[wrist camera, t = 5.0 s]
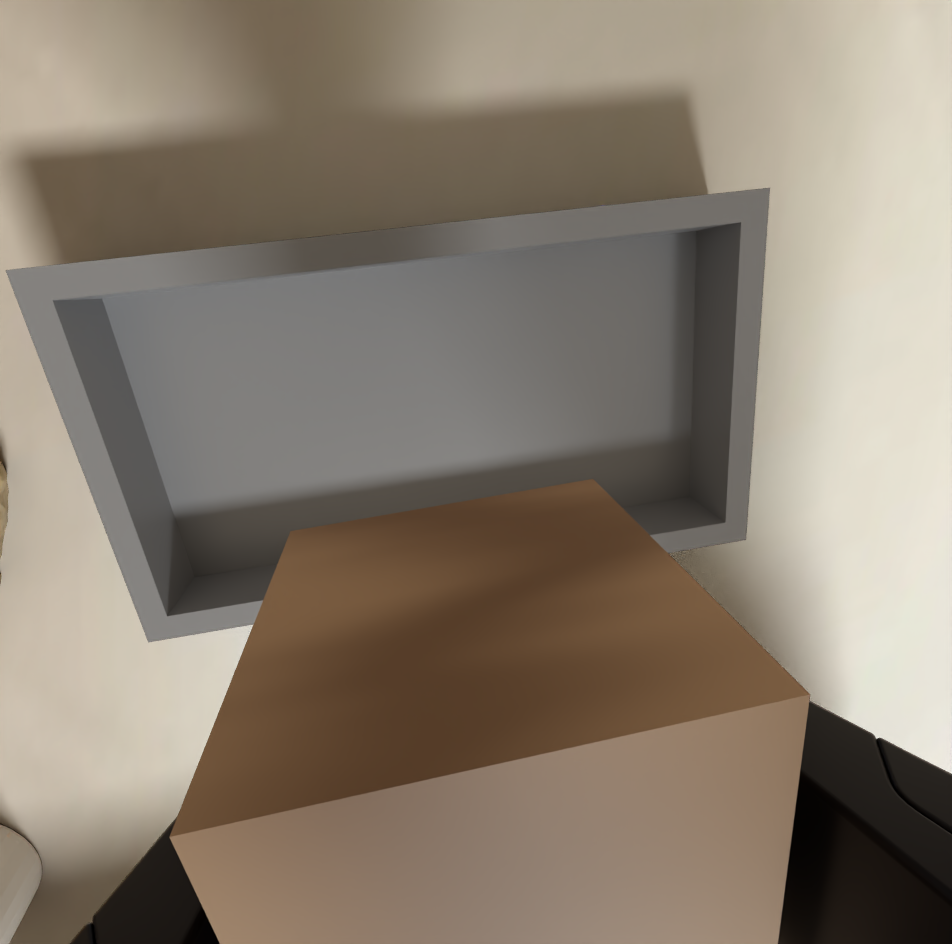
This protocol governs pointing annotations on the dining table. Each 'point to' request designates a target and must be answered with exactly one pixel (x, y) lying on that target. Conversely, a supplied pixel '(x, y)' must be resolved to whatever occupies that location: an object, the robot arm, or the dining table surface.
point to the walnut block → (495, 741)
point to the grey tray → (403, 383)
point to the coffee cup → (16, 880)
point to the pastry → (3, 505)
